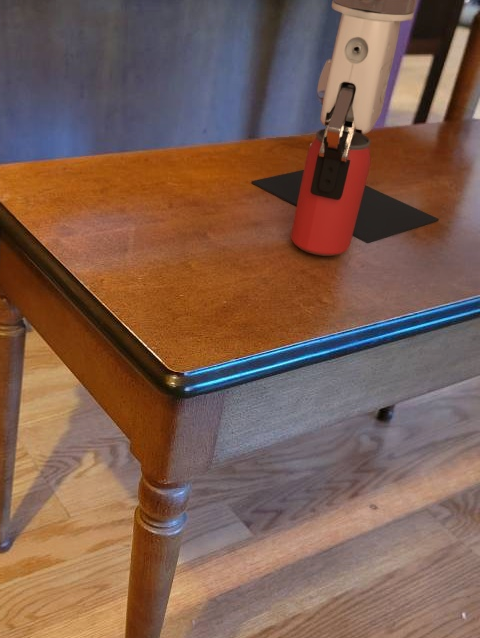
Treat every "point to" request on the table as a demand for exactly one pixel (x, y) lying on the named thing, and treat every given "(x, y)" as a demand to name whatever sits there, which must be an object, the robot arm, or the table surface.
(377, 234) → the mat
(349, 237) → the beer can
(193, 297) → the table surface
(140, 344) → the table surface
